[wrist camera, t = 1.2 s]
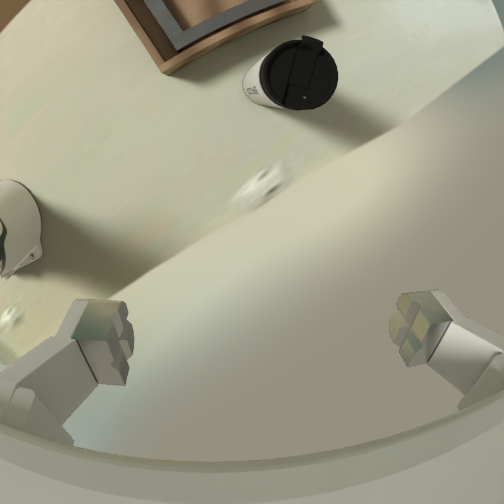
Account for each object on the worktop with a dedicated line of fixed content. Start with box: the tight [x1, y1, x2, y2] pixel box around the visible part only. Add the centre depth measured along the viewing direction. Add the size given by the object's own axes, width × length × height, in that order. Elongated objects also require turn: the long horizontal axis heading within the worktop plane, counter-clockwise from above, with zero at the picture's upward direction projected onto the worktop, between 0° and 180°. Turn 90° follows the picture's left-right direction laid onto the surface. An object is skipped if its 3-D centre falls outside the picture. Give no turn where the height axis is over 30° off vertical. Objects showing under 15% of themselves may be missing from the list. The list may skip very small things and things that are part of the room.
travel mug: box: [243, 35, 338, 110], centre depth 29 cm, size 6×7×20 cm
